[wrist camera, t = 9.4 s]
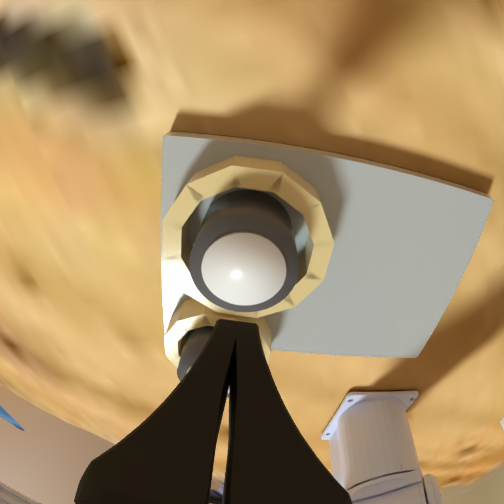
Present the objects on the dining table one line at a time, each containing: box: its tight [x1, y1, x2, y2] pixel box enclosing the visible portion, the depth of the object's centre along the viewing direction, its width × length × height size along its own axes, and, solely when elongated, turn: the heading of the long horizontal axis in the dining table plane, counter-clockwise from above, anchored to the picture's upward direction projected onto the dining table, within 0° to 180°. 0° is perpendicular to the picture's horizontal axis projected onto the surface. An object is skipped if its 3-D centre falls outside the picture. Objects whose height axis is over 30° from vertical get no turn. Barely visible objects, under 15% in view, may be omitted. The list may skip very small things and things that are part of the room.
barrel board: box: [161, 131, 494, 397], centre depth 18 cm, size 16×20×5 cm
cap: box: [189, 190, 299, 312], centre depth 16 cm, size 5×5×4 cm
